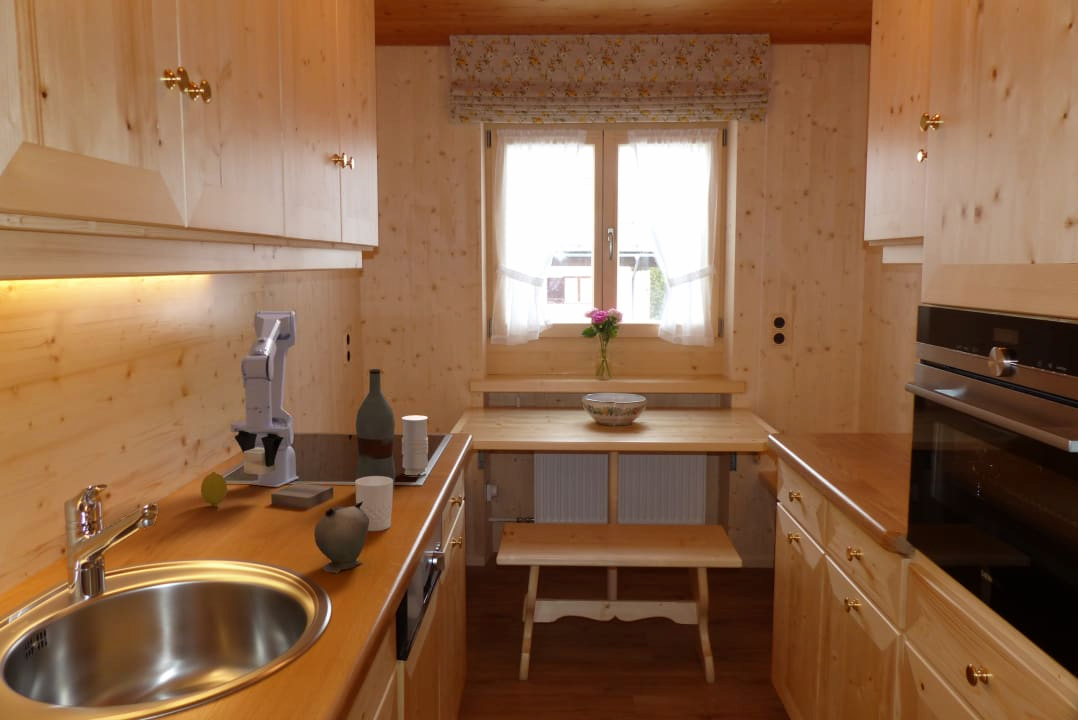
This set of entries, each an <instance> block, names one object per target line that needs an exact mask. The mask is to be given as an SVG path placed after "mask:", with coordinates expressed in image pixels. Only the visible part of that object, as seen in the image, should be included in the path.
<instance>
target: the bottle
mask: <svg viewBox="0 0 1078 720" xmlns="http://www.w3.org/2000/svg"><path fill="white" fill-rule="evenodd" d="M368 372H369V380H368V381H369V390H368V391H369V392H368V393H367V395H366V397H365V398H364V399H363V401H362V404H360V407H359V408H358V410H357V413H356V414H357V415H356V419H355V421H356V422H355V430H356V439H357V449H358V451H357V452H358V461H357V468H356V478H355V479H356V480H357V479H359V478H363V477H369V476H384V477H389V478H391V479H393V489H394V487H395V481H396V470H395V469H396V468H395V461H394V456H393V453H394V440H395V439H394V438H395V430H396V429H395V427H396V422H395V415H394V411H393V408H392V406H391V405H390V403H389V401H388V400H387V398H386V397H385V396H384V394H383V393H382V386H381V385H382V384H381V368H371V369H369V370H368Z"/></svg>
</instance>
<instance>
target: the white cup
mask: <svg viewBox="0 0 1078 720" xmlns="http://www.w3.org/2000/svg"><path fill="white" fill-rule="evenodd" d="M354 486H355V487H354V488H355V490H354V491H355V503H356V504H355V505H357V503H361V502H362V501H363V503H362V505H361V506H360V509H361V510H362V511H363V512H364V513H365V514H366V515H367V517H368V518H369V519H370V520H369V526H368V531H367V532H381V531H385V530H387V529H389V528H390V527H391V525H392V512H393V494H394V493H393V492H394V488H393V479H391V478H389V477H384V476H369V477H363V478H359V479H357V478H356V480H355V481H354Z"/></svg>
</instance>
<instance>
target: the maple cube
mask: <svg viewBox="0 0 1078 720" xmlns="http://www.w3.org/2000/svg"><path fill="white" fill-rule="evenodd" d="M242 457H243V473H244V474H249V475H250V474H251V475H257V476H258V475H264V474H266V473H269V472H272V471H274V470H276V467H275V463H274V465H273V466H270V467H266V462H265V450H264V448H259V447H257V448H256V447H255V448H254V449H250V450H247V451H244V452H242Z"/></svg>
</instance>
